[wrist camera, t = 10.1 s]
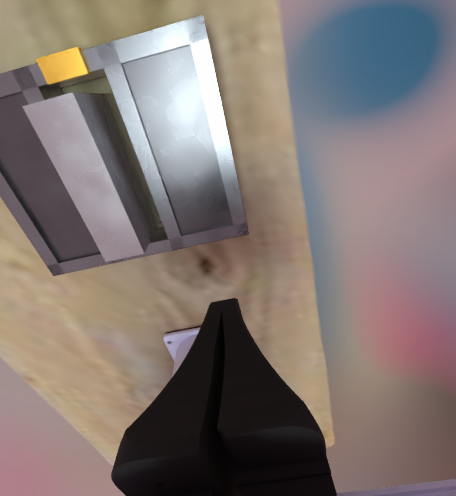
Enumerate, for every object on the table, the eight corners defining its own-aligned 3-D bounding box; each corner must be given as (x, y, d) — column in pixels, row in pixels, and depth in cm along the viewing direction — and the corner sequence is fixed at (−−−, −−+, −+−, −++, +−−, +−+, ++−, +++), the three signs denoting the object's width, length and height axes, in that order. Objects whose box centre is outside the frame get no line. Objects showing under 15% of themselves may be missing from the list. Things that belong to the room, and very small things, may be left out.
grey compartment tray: (246, 220, 22) (249, 236, 20) (68, 259, 24) (50, 279, 21) (204, 24, 16) (202, 10, 13) (-33, 92, 17) (-77, 91, 15)
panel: (162, 217, 22) (144, 253, 17) (132, 224, 22) (105, 262, 17) (116, 94, 18) (72, 92, 13) (80, 104, 18) (22, 106, 13)
